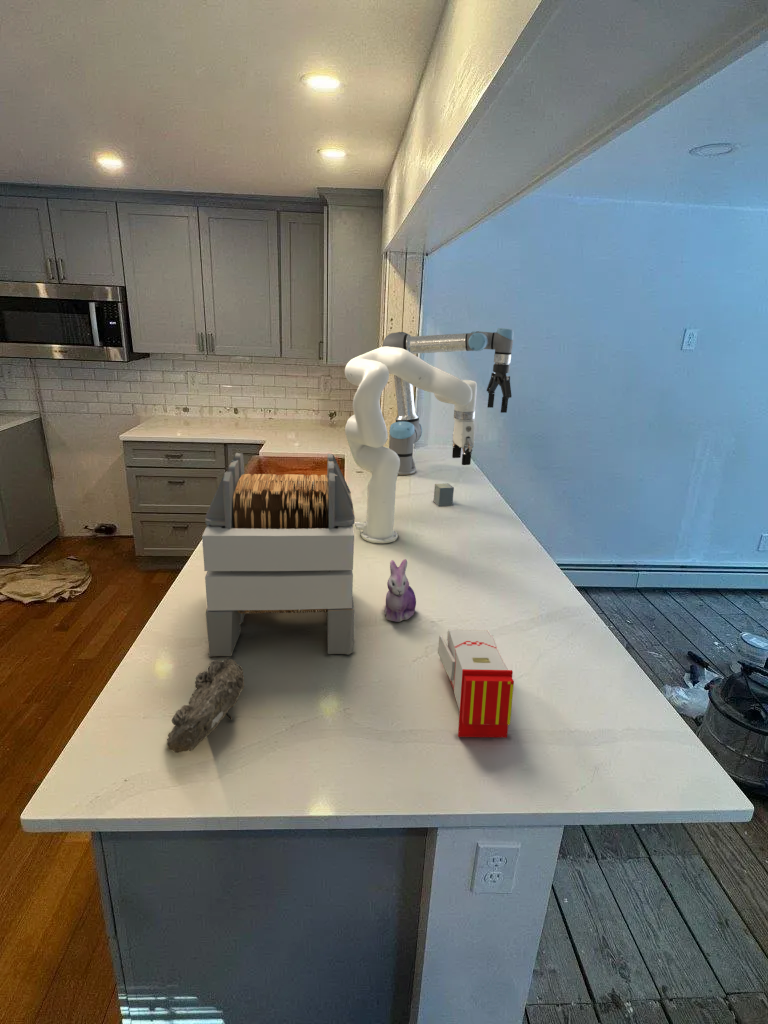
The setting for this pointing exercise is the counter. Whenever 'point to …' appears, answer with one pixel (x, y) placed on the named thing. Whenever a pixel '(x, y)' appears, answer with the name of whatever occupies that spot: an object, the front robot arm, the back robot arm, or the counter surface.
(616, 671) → the counter surface
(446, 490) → the brick
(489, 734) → the toy
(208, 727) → the fossil
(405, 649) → the counter surface
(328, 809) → the counter surface
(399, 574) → the figurine
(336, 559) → the record crate stand
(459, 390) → the front robot arm
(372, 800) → the counter surface
